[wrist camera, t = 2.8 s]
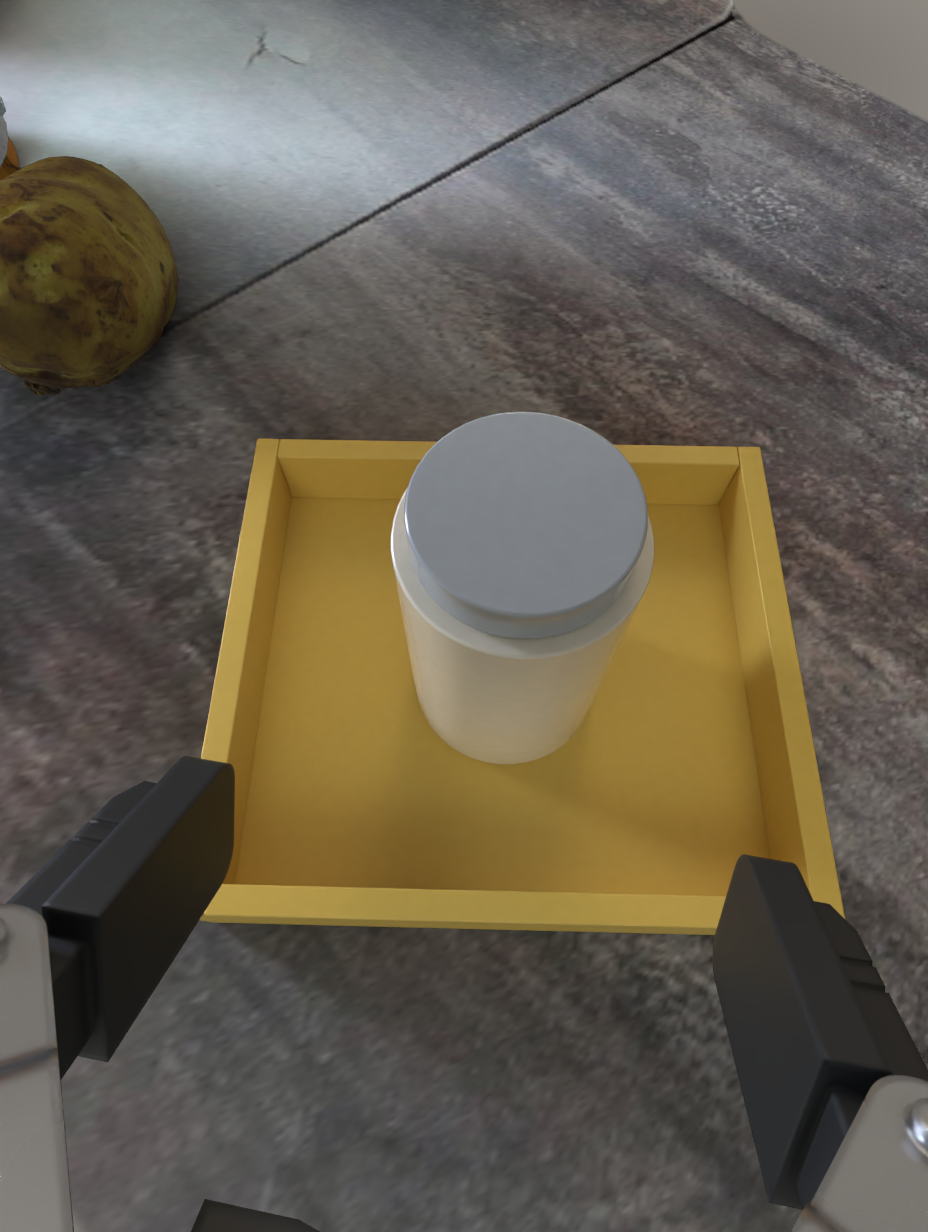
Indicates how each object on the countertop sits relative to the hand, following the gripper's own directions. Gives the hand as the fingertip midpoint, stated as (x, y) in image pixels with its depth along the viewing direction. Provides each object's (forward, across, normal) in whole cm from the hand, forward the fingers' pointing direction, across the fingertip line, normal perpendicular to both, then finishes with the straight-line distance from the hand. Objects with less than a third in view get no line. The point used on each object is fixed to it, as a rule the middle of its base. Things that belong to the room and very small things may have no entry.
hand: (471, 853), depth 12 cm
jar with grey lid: (+13, 0, +3) cm, 13 cm away
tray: (+14, 0, +3) cm, 14 cm away
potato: (+23, +19, -6) cm, 31 cm away
